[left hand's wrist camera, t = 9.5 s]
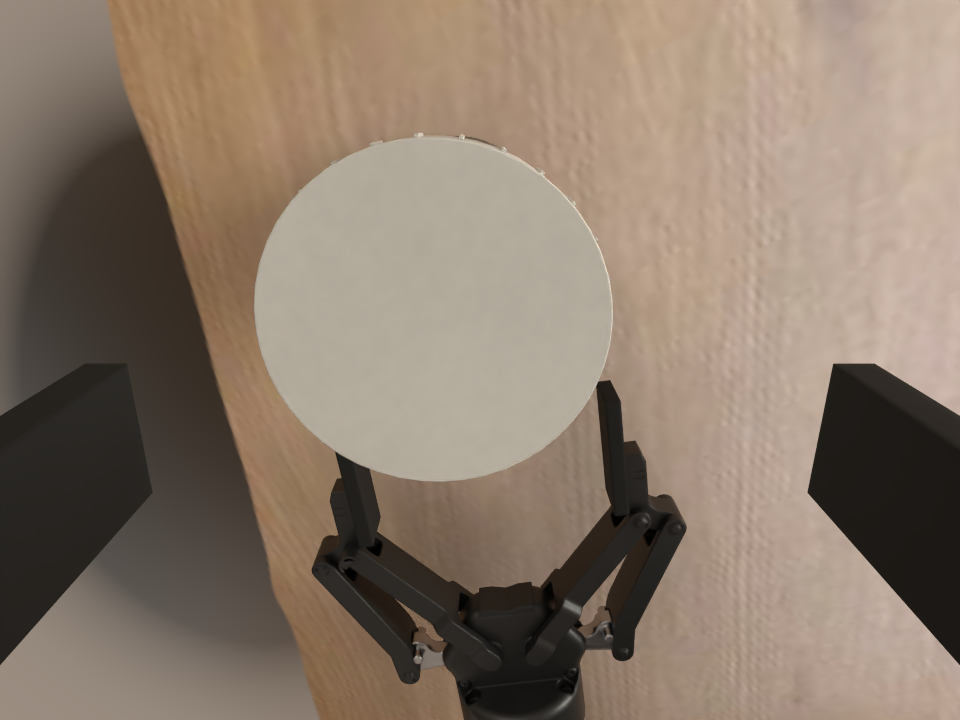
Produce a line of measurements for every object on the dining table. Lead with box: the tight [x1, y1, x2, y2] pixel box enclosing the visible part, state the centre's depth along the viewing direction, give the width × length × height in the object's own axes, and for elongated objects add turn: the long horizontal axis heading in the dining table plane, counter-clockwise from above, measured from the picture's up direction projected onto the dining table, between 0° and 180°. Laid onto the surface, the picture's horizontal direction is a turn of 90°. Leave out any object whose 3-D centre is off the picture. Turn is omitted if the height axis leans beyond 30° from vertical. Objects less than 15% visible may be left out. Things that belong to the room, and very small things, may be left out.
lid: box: [254, 132, 613, 482], centre depth 18 cm, size 10×10×2 cm
